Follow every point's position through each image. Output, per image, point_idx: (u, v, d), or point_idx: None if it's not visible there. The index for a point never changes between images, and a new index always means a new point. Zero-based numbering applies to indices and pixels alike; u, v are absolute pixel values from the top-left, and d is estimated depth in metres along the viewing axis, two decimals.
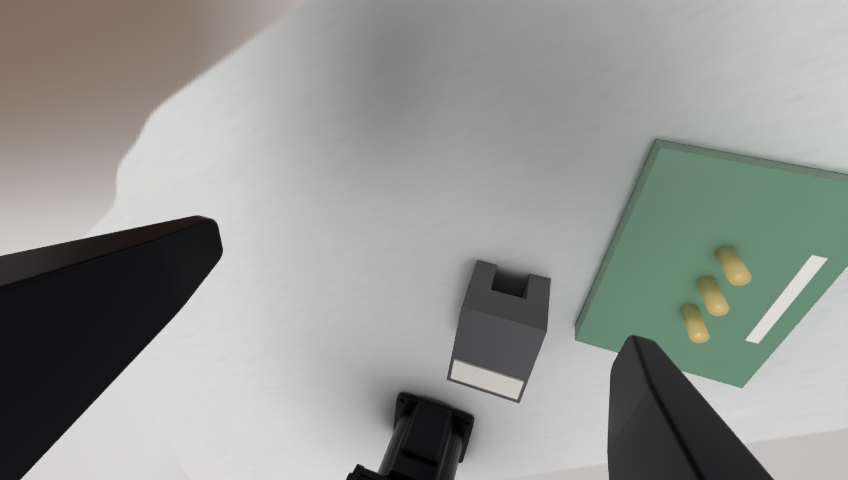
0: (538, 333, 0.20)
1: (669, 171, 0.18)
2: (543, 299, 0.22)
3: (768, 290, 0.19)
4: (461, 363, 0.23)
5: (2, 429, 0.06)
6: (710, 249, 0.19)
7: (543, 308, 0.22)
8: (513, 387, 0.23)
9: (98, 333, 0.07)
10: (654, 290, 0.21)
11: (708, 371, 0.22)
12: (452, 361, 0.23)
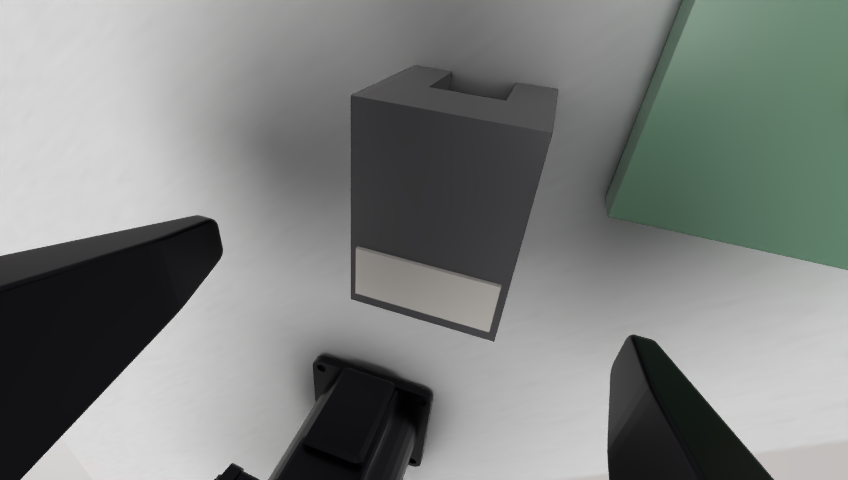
0: (531, 145, 0.08)
1: None
2: (543, 103, 0.10)
3: None
4: (371, 255, 0.11)
5: (2, 429, 0.06)
6: None
7: (544, 110, 0.09)
8: (479, 303, 0.11)
9: (98, 333, 0.07)
10: (808, 49, 0.09)
11: None
12: (354, 253, 0.11)
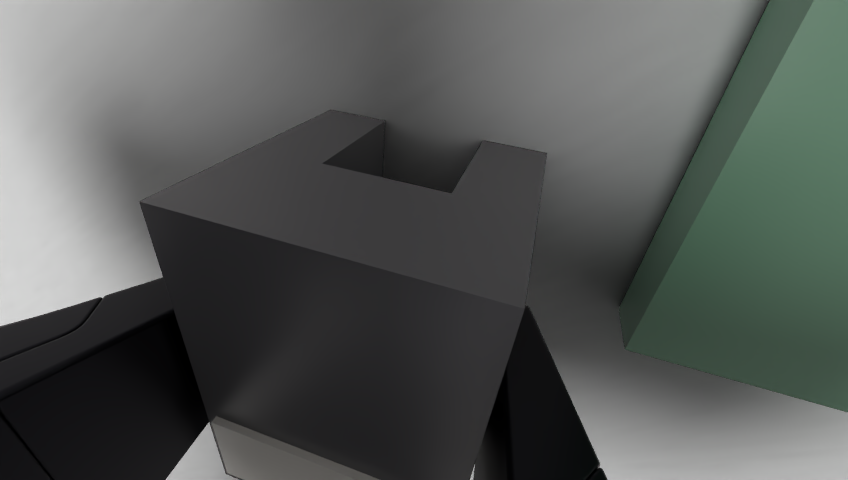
0: (482, 323, 0.04)
1: None
2: (517, 197, 0.06)
3: None
4: (237, 433, 0.07)
5: None
6: None
7: (516, 220, 0.05)
8: None
9: None
10: None
11: None
12: None
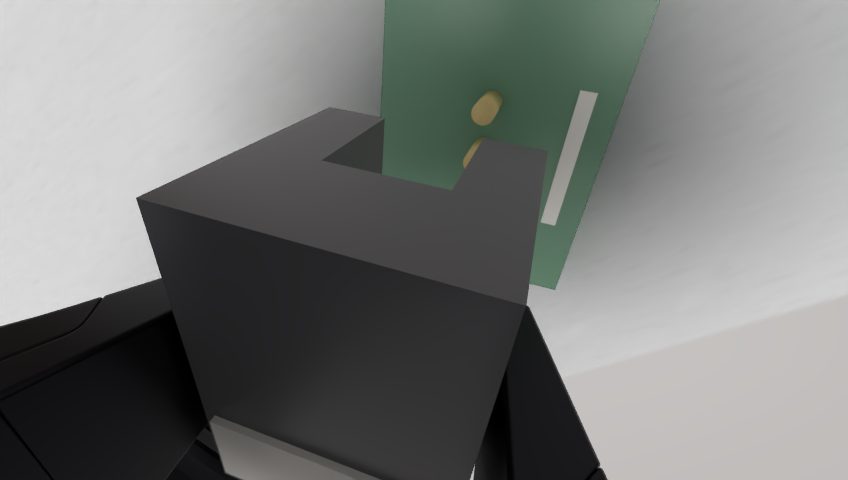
0: (483, 320, 0.04)
1: None
2: (517, 193, 0.06)
3: (548, 149, 0.16)
4: (235, 432, 0.07)
5: None
6: (475, 97, 0.15)
7: (518, 216, 0.05)
8: None
9: None
10: (433, 163, 0.17)
11: None
12: None
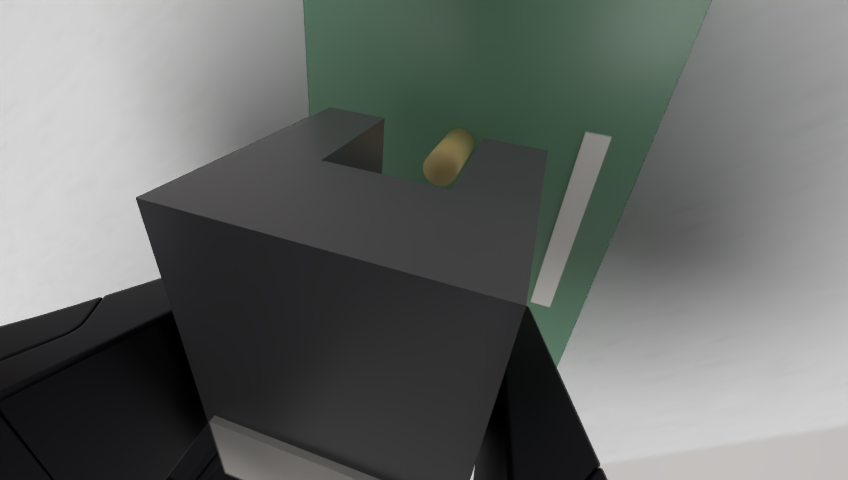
0: (483, 320, 0.04)
1: None
2: (517, 194, 0.06)
3: (540, 210, 0.11)
4: (235, 432, 0.07)
5: None
6: (436, 137, 0.11)
7: (518, 217, 0.05)
8: None
9: None
10: None
11: None
12: None
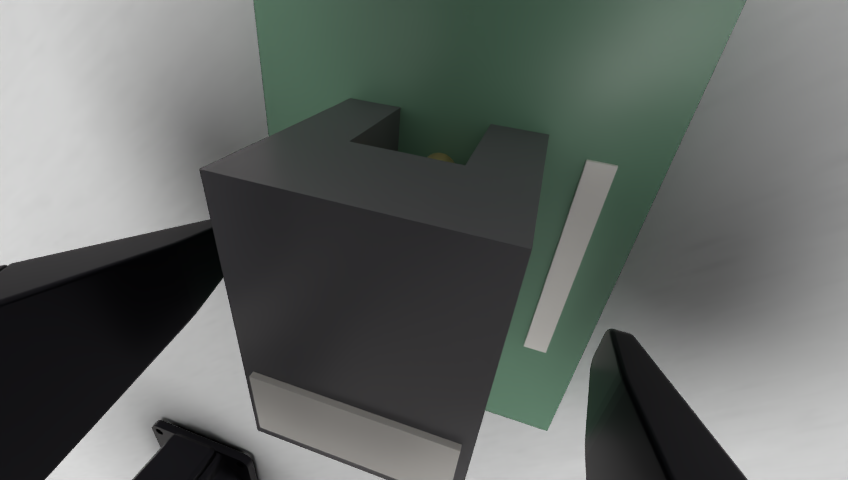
0: (496, 264, 0.05)
1: None
2: (523, 168, 0.06)
3: (534, 246, 0.10)
4: (272, 386, 0.07)
5: (20, 437, 0.06)
6: None
7: (523, 185, 0.06)
8: (431, 464, 0.07)
9: (115, 339, 0.07)
10: None
11: (489, 401, 0.13)
12: None
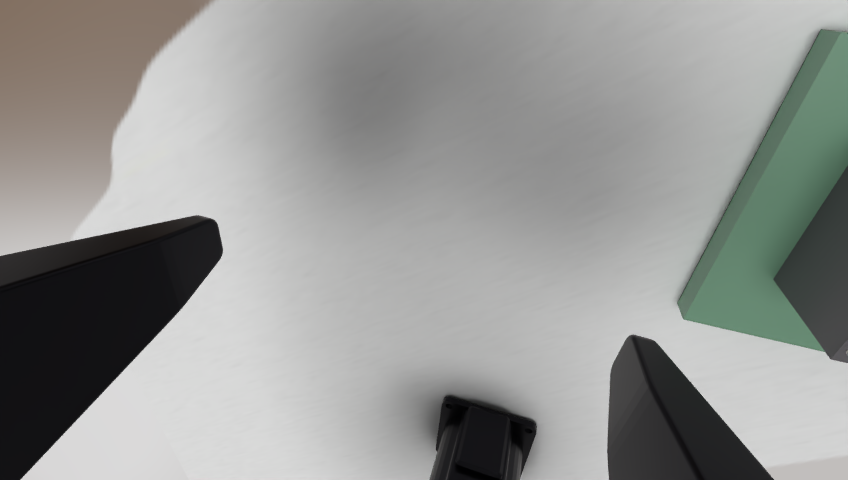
0: None
1: None
2: None
3: None
4: None
5: (2, 429, 0.06)
6: None
7: None
8: None
9: (98, 334, 0.07)
10: None
11: None
12: None
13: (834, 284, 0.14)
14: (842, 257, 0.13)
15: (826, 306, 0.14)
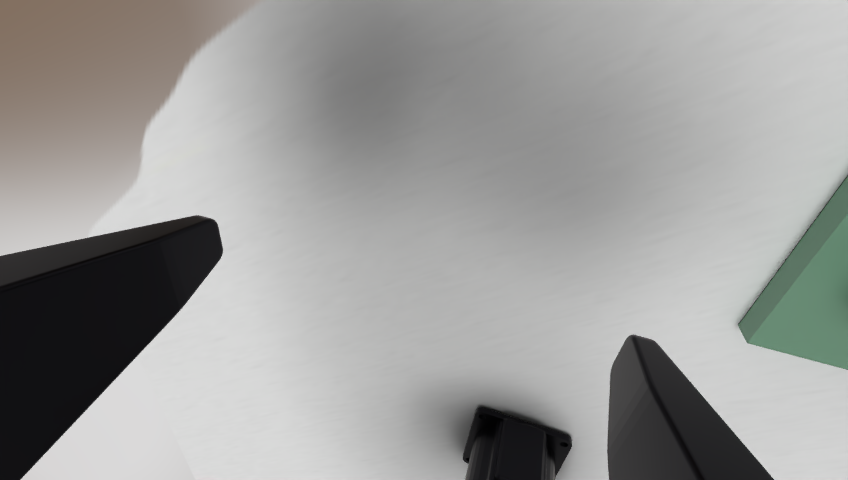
0: None
1: None
2: None
3: None
4: None
5: (2, 429, 0.06)
6: None
7: None
8: None
9: (97, 334, 0.07)
10: None
11: None
12: None
13: None
14: None
15: None
